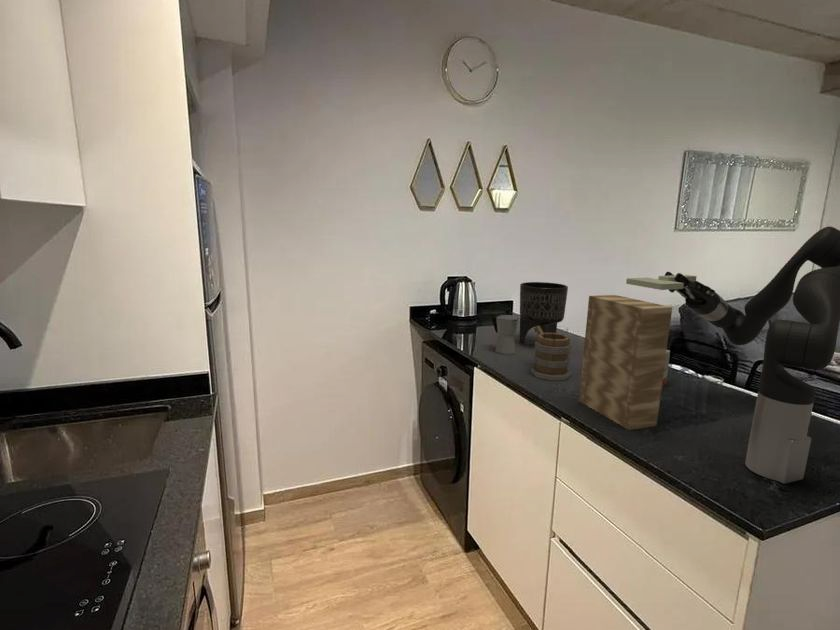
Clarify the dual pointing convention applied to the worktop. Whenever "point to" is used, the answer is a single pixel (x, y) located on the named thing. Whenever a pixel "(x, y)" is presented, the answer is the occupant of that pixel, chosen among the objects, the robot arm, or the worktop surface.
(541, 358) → the tankard
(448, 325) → the worktop surface
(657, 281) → the sage mallet
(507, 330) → the coffee maker
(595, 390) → the wooden crate
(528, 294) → the planter
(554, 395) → the worktop surface
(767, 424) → the robot arm
